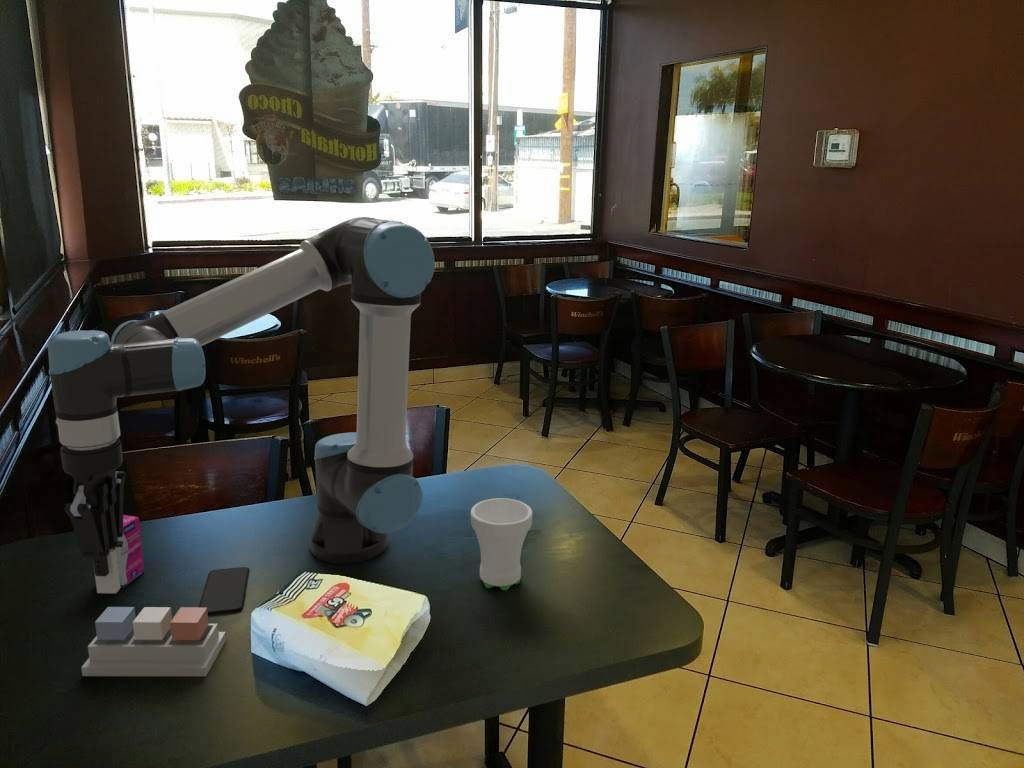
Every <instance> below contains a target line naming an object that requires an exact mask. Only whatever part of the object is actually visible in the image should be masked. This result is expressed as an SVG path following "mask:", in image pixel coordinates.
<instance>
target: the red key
mask: <svg viewBox="0 0 1024 768" xmlns="http://www.w3.org/2000/svg"><path fill="white" fill-rule="evenodd" d="M209 624H210V623H209V615H208V612H207V607H199V606H198V607H196V606H195V607H193V606H191V607H189V606H187V607H185V606H180V607H179V608H178V610H177V612H176V613H175V615H174V616H173V617H172V621H171V622H170V625H171V634H172V640H200V638H201V636H202V635H203V633H204V631H205V630H206V628H207V627H208V625H209Z"/></svg>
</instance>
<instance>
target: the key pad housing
mask: <svg viewBox="0 0 1024 768" xmlns="http://www.w3.org/2000/svg"><path fill="white" fill-rule="evenodd" d="M226 641H227V633H226V631H219V624H218V623H209V625H208V627H207V628H206V630H205V631H204V633H203V635H202V636H201V638H200V640H172V634H171V628H170V629H169V630H168V632H167V633H166V635H165V636H164V638H163V639H162V640H135V637H134V629H133V630H132V631H131V632H130V633H129V635H128V636H127V637H126V639H125V640H97V635H96V636H95V637H94V638H93V639H92V641H91V642H90V643H89V644H88V646H87V652H88V658H87V659H86V661H85V662H84V664H83V665H81V667H80V668H81V673H82V677H204V678H205V677H207V675H208V674H209V672H210V670H211V668H212V666H213V665H214V663H215V661H216V660H217V658H218V656H219V654H220V653H221V651H222V649H223V647H224V644H225V643H226Z"/></svg>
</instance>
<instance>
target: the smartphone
mask: <svg viewBox="0 0 1024 768" xmlns="http://www.w3.org/2000/svg"><path fill="white" fill-rule="evenodd" d="M249 577H250V568H249V567H245V566H242V567H231V568H229V567H228V568H222V569H221V568H219V569H213V570H210V571H209V572H208V574H207V578H206V581H205V585H204V588H203V591H202V595H201V598H200V600H199V605H198V607H207V612H208V616H214V615H215V616H216V615H222V614H223V615H225V614H235V613H239V612H241V611H242V610H243V608H244V606H245V602H246V601H245V600H246V595H247V589H248V582H249Z"/></svg>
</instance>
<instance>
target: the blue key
mask: <svg viewBox="0 0 1024 768" xmlns="http://www.w3.org/2000/svg"><path fill="white" fill-rule="evenodd" d="M136 617H137V616H136V609H135V606H107V607H106V609H105V610H104V611H103V612H102V613H101V614H100V615H99V617H98V618H97V619H96V620H95V621H94V624H95V631H96V632H95V633H96V636H97V640H125V639H126V637H127V636H128V635H129V633H130V632H131V631H132V630H133V621H134V620H135V618H136Z"/></svg>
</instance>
